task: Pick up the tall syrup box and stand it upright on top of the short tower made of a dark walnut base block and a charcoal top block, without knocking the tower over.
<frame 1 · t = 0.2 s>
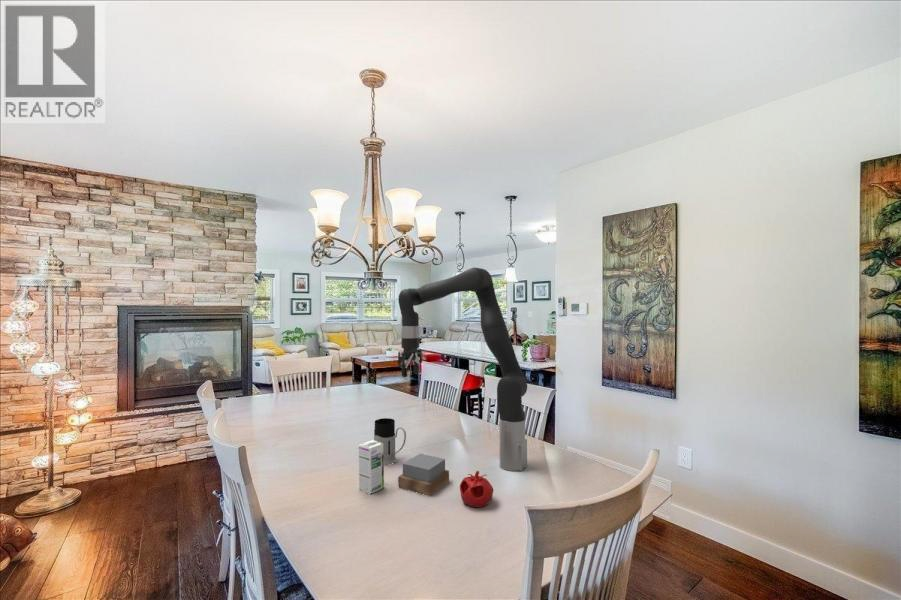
hand: (410, 375, 168), 29 cm above the table, tool pointing down, fingers open, 8 cm apart
pomegranate: (476, 502, 120), on the table
walnut base block: (424, 485, 131), on the table, touching charcoal top block
charcoal top block: (424, 473, 131), point 3 cm above the table, touching walnut base block
syrup box: (371, 489, 128), on the table
grey mug: (390, 462, 149), on the table
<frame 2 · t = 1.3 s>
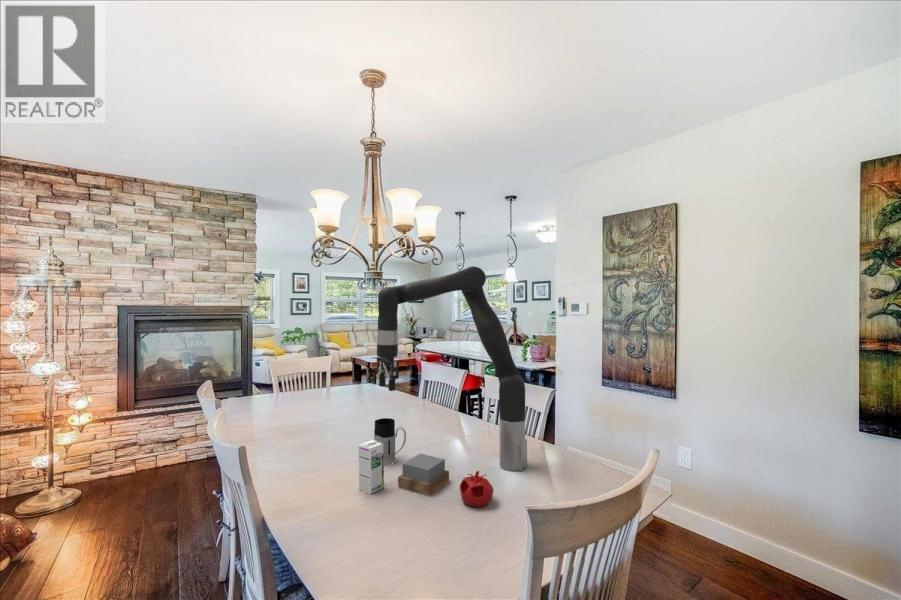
hand: (386, 388, 143), 29 cm above the table, tool pointing down, fingers open, 8 cm apart
nothing on the table moved.
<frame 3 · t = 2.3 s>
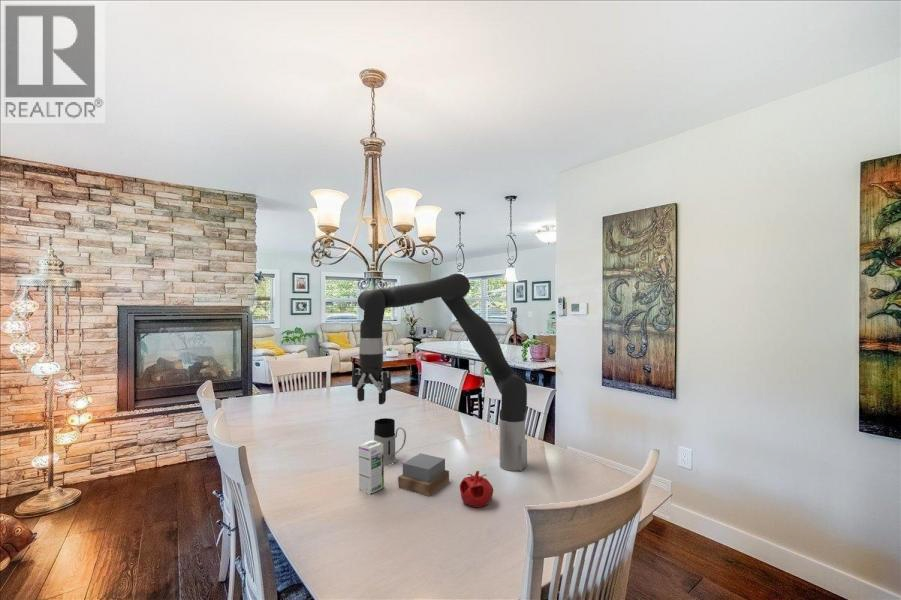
hand: (371, 402, 128), 28 cm above the table, tool pointing down, fingers open, 8 cm apart
nothing on the table moved.
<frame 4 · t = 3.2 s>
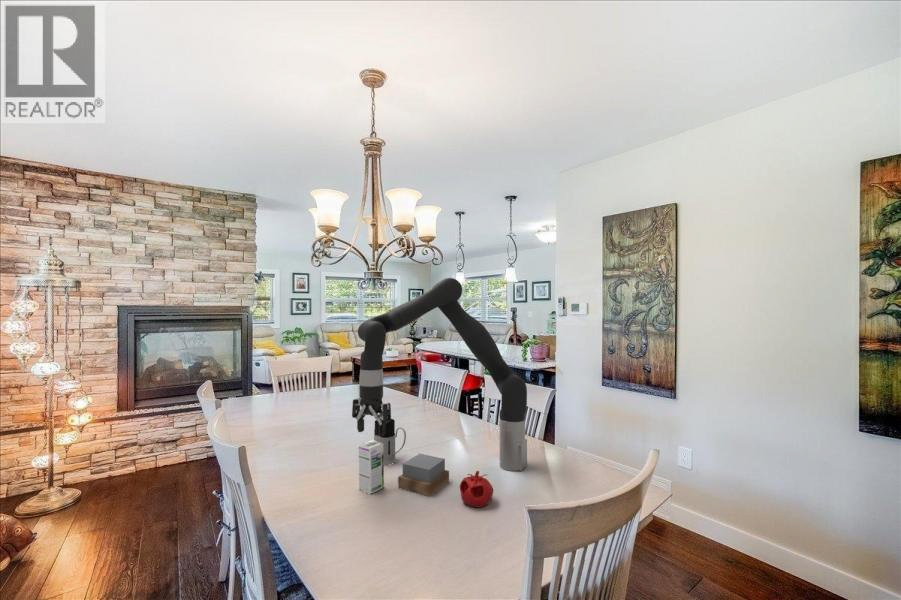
hand: (371, 433, 128), 18 cm above the table, tool pointing down, fingers open, 8 cm apart
nothing on the table moved.
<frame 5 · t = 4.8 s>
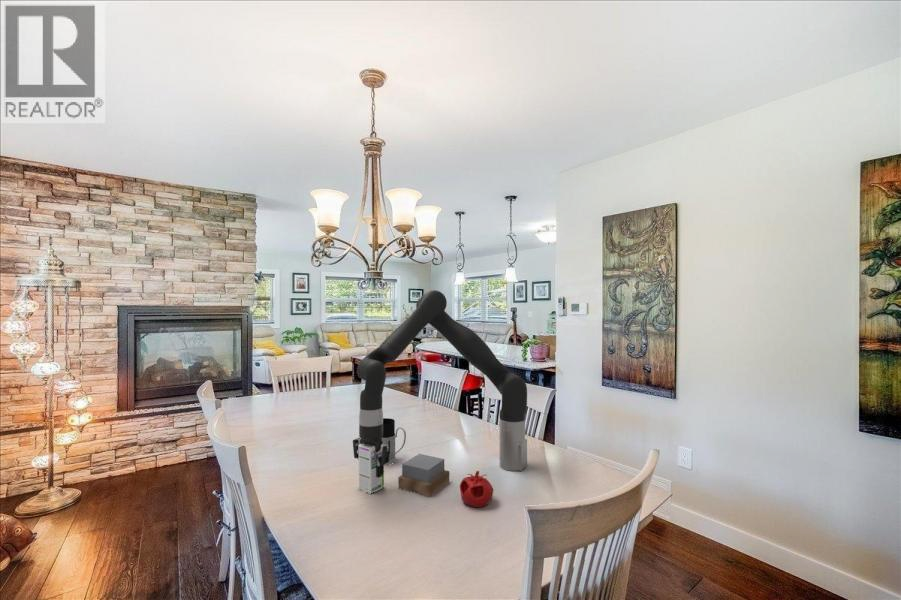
hand: (371, 474, 128), 5 cm above the table, tool pointing down, fingers closed on syrup box, 6 cm apart
walnut base block: (424, 486, 131), on the table
charcoal top block: (423, 473, 131), point 3 cm above the table
syrup box: (371, 489, 128), on the table, touching gripper
everything else where it was.
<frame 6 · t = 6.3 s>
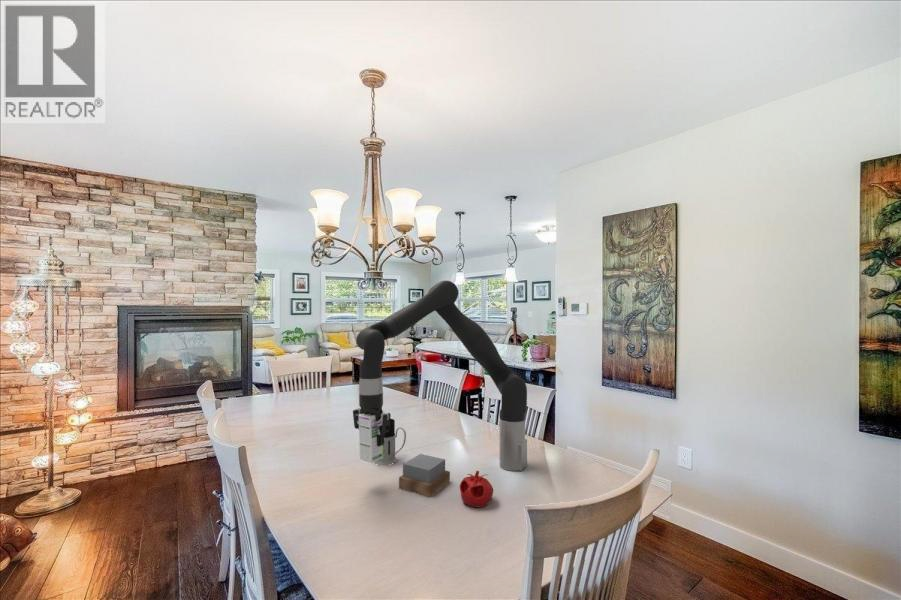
hand: (371, 443, 128), 14 cm above the table, tool pointing down, fingers closed on syrup box, 6 cm apart
walnut base block: (424, 486, 131), on the table, touching charcoal top block
charcoal top block: (424, 473, 131), point 3 cm above the table, touching walnut base block
syrup box: (372, 459, 128), point 10 cm above the table, touching gripper
everything else where it was.
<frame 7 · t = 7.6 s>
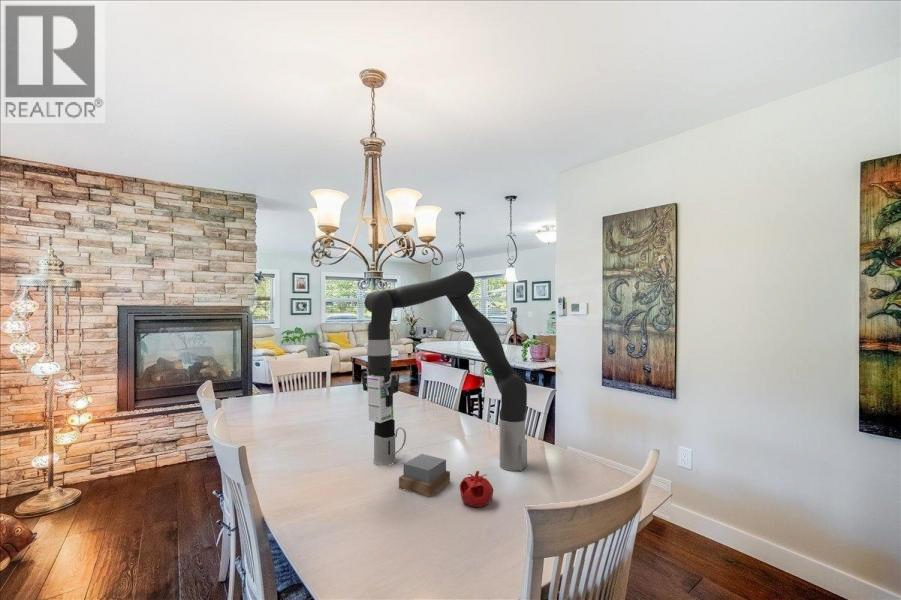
hand: (380, 405, 129), 27 cm above the table, tool pointing down, fingers closed on syrup box, 6 cm apart
syrup box: (380, 420, 129), point 22 cm above the table, touching gripper
everything else where it was.
when the fingers open (14 cm above the table, at t = 11.1 s): syrup box drops 1 cm, resting on charcoal top block.
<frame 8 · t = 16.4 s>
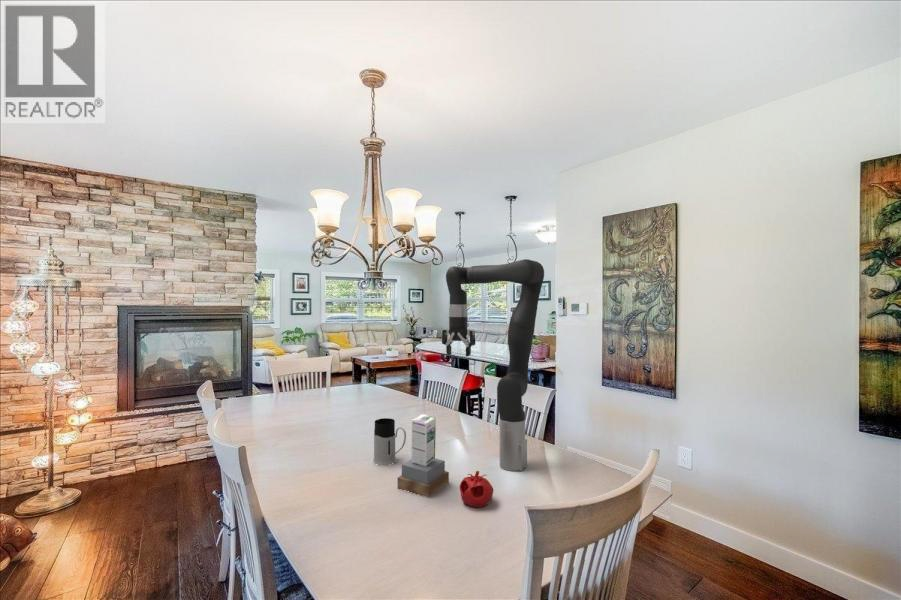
hand: (458, 355, 163), 38 cm above the table, tool pointing down, fingers open, 8 cm apart
charcoal top block: (423, 475, 130), point 3 cm above the table, touching syrup box, walnut base block
syrup box: (422, 461, 131), point 8 cm above the table, touching charcoal top block
everything else where it was.
at the end: syrup box inside the target area on the charcoal top block (0.5 cm from its centre), point 4.2 cm above the charcoal top block's base; syrup box tilted 7°; charcoal top block 0.2 cm off-centre on the walnut base block, point 4.0 cm above the walnut base block's base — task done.
